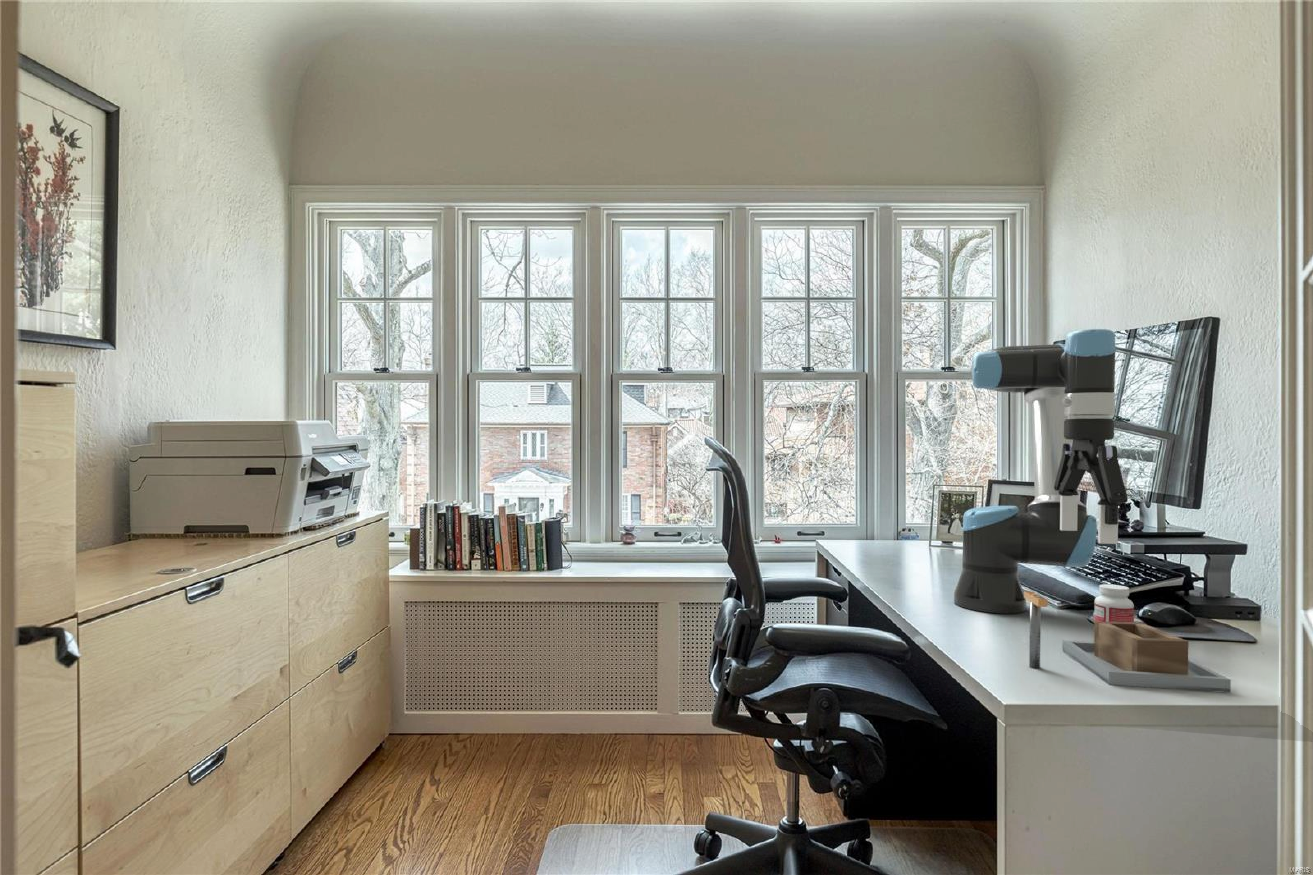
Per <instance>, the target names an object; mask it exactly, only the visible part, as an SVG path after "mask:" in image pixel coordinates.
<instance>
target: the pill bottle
mask: <svg viewBox="0 0 1313 875" xmlns="http://www.w3.org/2000/svg"><path fill="white" fill-rule="evenodd" d="M1098 586H1099V588H1098V589H1099V590H1098V592H1099V594H1100V595H1098V596H1096V598H1094V622H1135V608H1134V607H1135V605H1134V603H1133V601H1132V600H1131V599H1129V598H1128V597H1129V596H1130V588H1129V587H1128V586H1125V585H1120V584H1119V585H1118V584H1107V583H1106V584H1105V583H1104V584H1100V585H1098Z"/></svg>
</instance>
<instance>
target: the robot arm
mask: <svg viewBox="0 0 1313 875" xmlns="http://www.w3.org/2000/svg"><path fill="white" fill-rule="evenodd" d="M1064 342H1065V343H1063V344H1062V343H1055V344H1036V345H1034V344H1033V345H1031V344H1030V345H1009V346H1001V347H997V348H993V349H988V350H986V351H978V352H975V353H974V354H973V356H972V362H971V366H970V374H971V378H972V381H971V382H972V386H973V387H974V388H975V389H984V390H989V391H994V392H1001V393H1017V394H1018V393H1022V394H1023V399H1024V401H1025V402H1026V403H1027V404H1029V405H1030V406H1031V420H1032V422H1031V423H1032V426H1031V427H1032V452H1033V453H1032V454H1033V480H1034V481H1033V482H1034V486H1033V487H1034V499H1033V500H1032V501H1031V502H1030V503H1029V504H1028V505H1027V512H1020V509H1019V507H1018V506H1017V505H993V506H990V505H989V506H980V507H979V506H978V507H975V508H974V507H973V508H970V509H968V510H966V511H965V512H964V514H963V517H962V526H961V531H962V563H961V564H962V569H961V574H960V576H959V578H958V581H957V583H956V586H955V589H954V594H953V603H954V604H955V605H957V606H959V607H961V608H965V609H969V610H973V611H976V612H977V611H978V612H984V613H992V614H993V613H994V614H1020V613H1024V612H1025V611H1027V599H1025V598H1024V590H1023V588H1022V587H1023V586H1022V584H1021V581H1020V578H1019V564H1025V565H1026V564H1027V565H1041V566H1053V567H1054V566H1055V567H1062V568H1068V567H1069V568H1083V567H1086V566H1087V565H1088V564H1090V562H1091V561H1092V559H1093V555H1094V552H1095V548H1096V547H1095V546H1096V541H1097V543H1098V544H1104V545H1105V544H1107V545H1118V543H1119V542H1118V541H1119V540H1118V539H1119V538H1118V537H1119V506H1121V504H1122V503H1125V504H1126V503H1127V502H1128V499H1129V498H1128V494H1127V491H1126V490H1127V489H1126V487H1125V482H1124V479H1123V478H1124V477H1123V475H1122V471H1121V467H1120V464H1119V463H1120V462H1119V460H1118V459H1119V458H1118V447H1117V446H1116V445H1106V443H1105V442H1106V441H1111V440H1113V439H1114V438H1115V420H1114V419H1113V418H1111V416H1114V415H1115V411H1116V392H1115V384H1116V383H1115V382H1116V381H1115V379H1116V352H1117V350H1118V348H1117V345H1116V334H1115V333H1114V332H1113V331H1112V330H1111V329H1105V328H1103V329H1102V328H1094V329H1093V328H1091V329H1082V330H1074V331H1071V332H1069V333H1067V334H1066V336H1065V341H1064ZM1086 473H1088V474H1089V475H1090V477H1091V479H1092V481H1093V484H1094V486H1095V488H1096V492H1097V494H1098V496H1099V500H1098V502H1097V505H1098V508H1097V509H1098V513H1097V514H1098V516H1097V517H1098V518H1096V517H1095V515H1092V514H1088V510H1087V509H1088V508H1087V505H1085V504H1084V503H1083V502H1081V501H1080V499H1079V492H1078V490H1079V486H1080V484H1081V482H1082V479H1083V478H1084V475H1085V474H1086ZM1097 519H1098V520H1097ZM1097 521H1098V522H1097Z"/></svg>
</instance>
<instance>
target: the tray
mask: <svg viewBox="0 0 1313 875" xmlns="http://www.w3.org/2000/svg"><path fill="white" fill-rule="evenodd" d="M1062 652H1063V653H1065V655H1067V656H1069V657H1070V658H1072V659H1073V660H1074V661H1075V662H1077V663H1079V665H1081V666H1083V667H1084V668H1085V669H1087V670H1088V671H1089V672H1091V673H1092V674H1094V675H1095V676H1097V677H1098V678H1099V679H1101V680H1102V681H1103V682H1105V683H1106V684H1108V685H1111V686H1112V685H1113V686H1115V685H1116V686H1124V687H1125V686H1129V687H1141V688H1142V687H1144V688H1156V689H1158V688H1159V689H1170V690H1171V689H1173V690H1184V691H1185V690H1186V691H1187V690H1188V691H1199V692H1200V691H1201V692H1213V691H1221V692H1220V693H1228V692H1231V690H1232V689H1231V687H1232V686H1231V685H1232V683H1231V682H1232V680H1231V679H1230V678H1228V677H1227V676H1224V675H1222V674H1220V673H1219V672H1217V671H1215V670H1213V669H1211V668H1209V667H1207V666H1205V665H1203V664H1201V663H1200V662H1197V660H1196V661H1195V660H1194V659H1192V658H1190V657H1188V675H1181V674H1166V673H1151V672H1135V671H1123V670H1121V669H1120V668H1118V667H1116V666H1114V665H1112V664H1110V663H1108V662H1106V661H1104V660H1102V659H1100V658H1098V657H1096V656H1094V641H1084V640H1070V639H1069V640H1066V639H1062Z"/></svg>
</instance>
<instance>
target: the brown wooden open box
mask: <svg viewBox="0 0 1313 875" xmlns="http://www.w3.org/2000/svg"><path fill="white" fill-rule="evenodd" d="M1093 624H1094V626H1093V627H1094V628H1093V633H1094V634H1093V638H1094V639H1093V640H1094V641H1093V642H1094V656H1096V657H1098V658H1100V659H1102V660H1104V661H1106V662H1108V663H1110V664H1112V665H1114V666H1116V667H1118V668H1120V669H1121V670H1123V671H1135V672H1151V673H1166V674H1181V675H1188V658H1189V641H1188V640H1187V639H1183V638H1181V637H1179V636H1176V635H1173V634H1170V633H1168V632H1166V631H1163V630H1161V629H1159V628H1156V627H1153V626H1150V625H1147V624H1145V623H1142V622H1135V621H1134V622H1095V621H1094V623H1093Z"/></svg>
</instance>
